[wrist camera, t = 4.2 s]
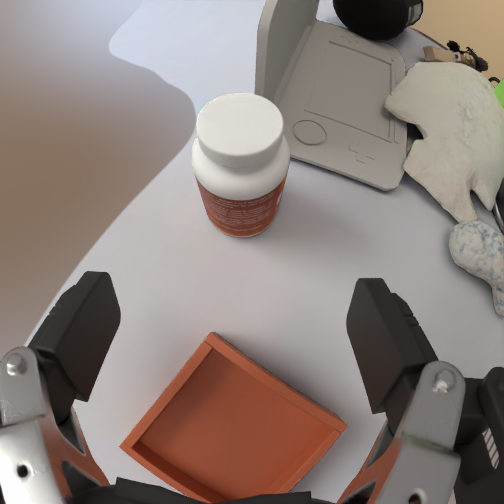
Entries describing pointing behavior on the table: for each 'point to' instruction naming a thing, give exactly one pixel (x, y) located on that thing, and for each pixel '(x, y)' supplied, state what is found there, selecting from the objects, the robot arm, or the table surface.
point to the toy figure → (455, 56)
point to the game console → (332, 93)
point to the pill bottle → (240, 162)
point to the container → (378, 16)
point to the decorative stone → (480, 255)
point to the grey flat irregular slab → (452, 134)
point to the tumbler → (500, 92)
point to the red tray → (231, 429)
